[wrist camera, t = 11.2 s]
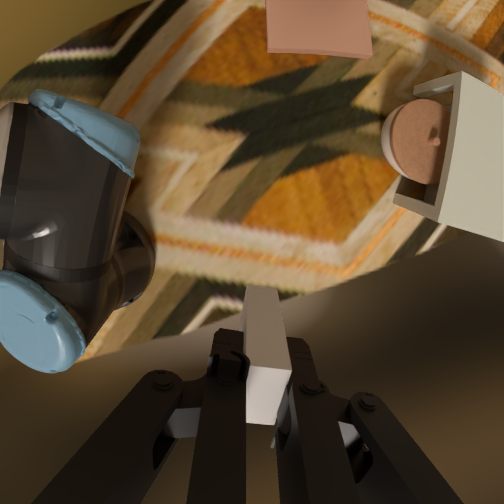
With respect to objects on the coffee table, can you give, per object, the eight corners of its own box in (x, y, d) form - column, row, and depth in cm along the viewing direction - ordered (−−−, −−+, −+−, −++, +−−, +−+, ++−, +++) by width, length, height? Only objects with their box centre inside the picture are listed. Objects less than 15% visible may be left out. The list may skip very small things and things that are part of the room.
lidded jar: (429, 105, 39) (465, 99, 30) (436, 176, 42) (472, 183, 33) (364, 105, 39) (392, 95, 30) (373, 181, 42) (402, 189, 33)
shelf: (393, 203, 43) (437, 222, 31) (413, 85, 38) (462, 70, 26) (454, 220, 44) (504, 242, 32) (474, 113, 39) (526, 110, 27)
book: (267, 53, 38) (268, 48, 35) (264, -6, 35) (265, -14, 32) (366, 60, 38) (372, 55, 35) (360, 2, 35) (365, -5, 32)
